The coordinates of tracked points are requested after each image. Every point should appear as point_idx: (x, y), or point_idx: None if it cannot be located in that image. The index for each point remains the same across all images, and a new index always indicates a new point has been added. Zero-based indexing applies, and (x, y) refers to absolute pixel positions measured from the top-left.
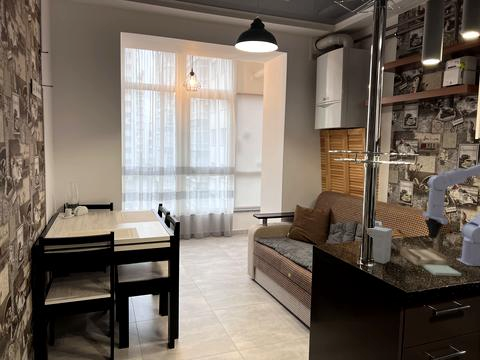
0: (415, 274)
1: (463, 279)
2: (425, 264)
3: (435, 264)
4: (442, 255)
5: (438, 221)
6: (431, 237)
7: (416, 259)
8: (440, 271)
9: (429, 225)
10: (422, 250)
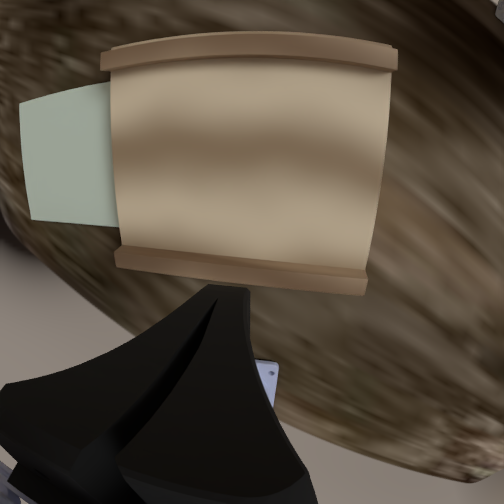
0: (31, 20)
1: (15, 201)
2: (109, 97)
3: None
4: (162, 259)
5: (4, 470)
6: (204, 288)
7: (121, 47)
8: (31, 135)
9: (134, 389)
10: (357, 219)
